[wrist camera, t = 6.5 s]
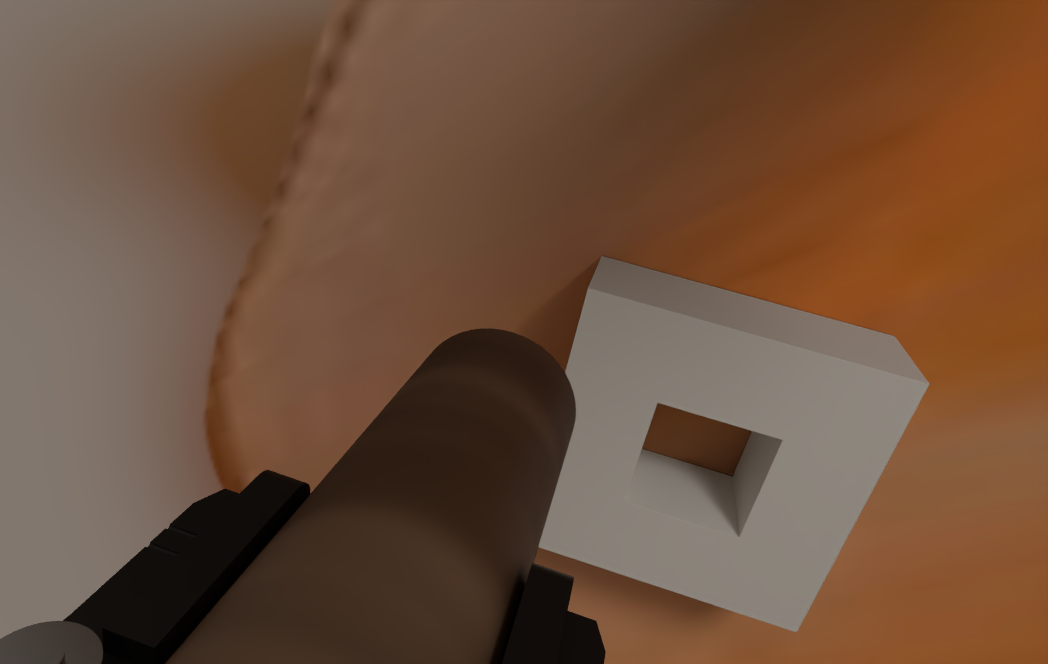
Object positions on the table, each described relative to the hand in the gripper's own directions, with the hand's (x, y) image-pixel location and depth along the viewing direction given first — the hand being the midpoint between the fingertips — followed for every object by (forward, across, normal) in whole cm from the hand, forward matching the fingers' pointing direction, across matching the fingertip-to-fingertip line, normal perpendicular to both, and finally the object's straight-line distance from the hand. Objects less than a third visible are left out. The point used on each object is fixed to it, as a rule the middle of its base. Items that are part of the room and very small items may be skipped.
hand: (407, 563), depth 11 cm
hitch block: (+24, -8, +8) cm, 26 cm away
